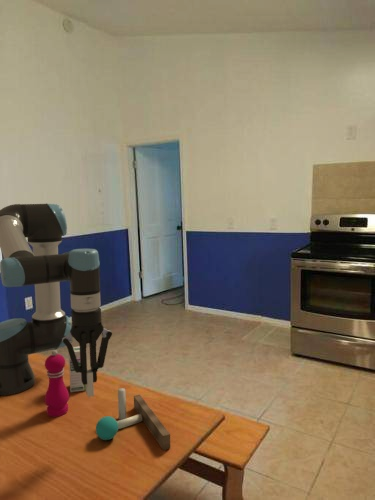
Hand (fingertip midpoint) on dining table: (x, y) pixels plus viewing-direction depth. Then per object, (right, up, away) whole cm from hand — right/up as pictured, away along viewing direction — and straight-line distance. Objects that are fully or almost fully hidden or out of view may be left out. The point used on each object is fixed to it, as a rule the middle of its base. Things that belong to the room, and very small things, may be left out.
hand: (89, 394), depth 104 cm
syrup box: (-12, -10, +33) cm, 37 cm away
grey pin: (+6, -12, +14) cm, 19 cm away
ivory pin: (+5, -12, +7) cm, 15 cm away
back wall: (+15, -13, +9) cm, 22 cm away
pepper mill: (-15, -12, +18) cm, 26 cm away
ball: (+4, -11, +3) cm, 12 cm away
